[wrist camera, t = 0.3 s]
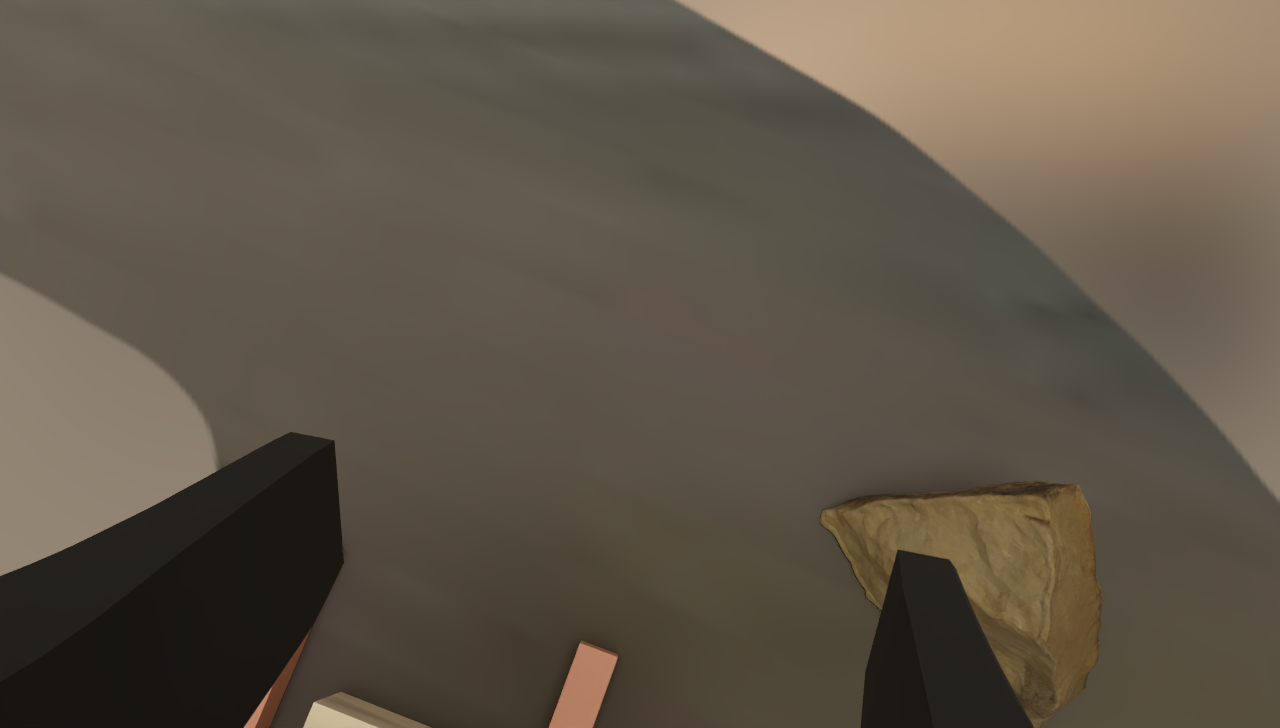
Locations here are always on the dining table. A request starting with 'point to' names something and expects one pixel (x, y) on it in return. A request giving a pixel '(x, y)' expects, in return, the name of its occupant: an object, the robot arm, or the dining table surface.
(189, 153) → the dining table surface
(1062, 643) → the rock
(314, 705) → the maple block
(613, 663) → the pink-beige flat slab
